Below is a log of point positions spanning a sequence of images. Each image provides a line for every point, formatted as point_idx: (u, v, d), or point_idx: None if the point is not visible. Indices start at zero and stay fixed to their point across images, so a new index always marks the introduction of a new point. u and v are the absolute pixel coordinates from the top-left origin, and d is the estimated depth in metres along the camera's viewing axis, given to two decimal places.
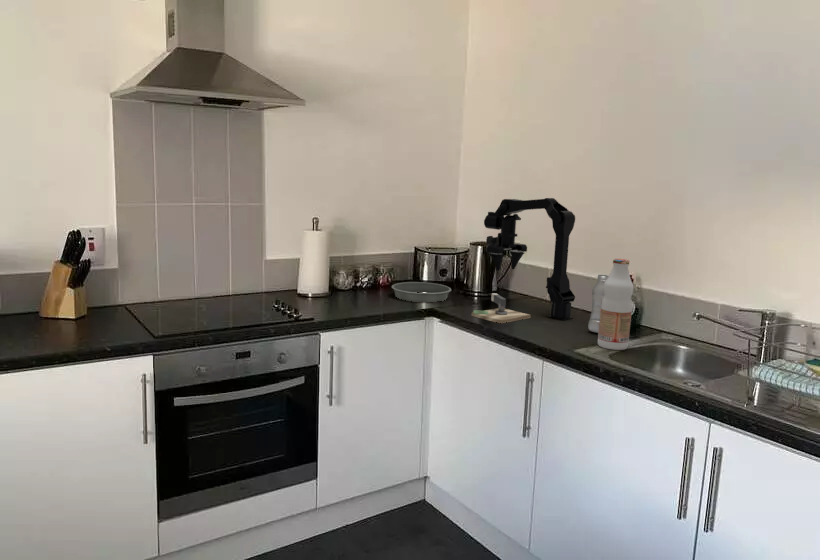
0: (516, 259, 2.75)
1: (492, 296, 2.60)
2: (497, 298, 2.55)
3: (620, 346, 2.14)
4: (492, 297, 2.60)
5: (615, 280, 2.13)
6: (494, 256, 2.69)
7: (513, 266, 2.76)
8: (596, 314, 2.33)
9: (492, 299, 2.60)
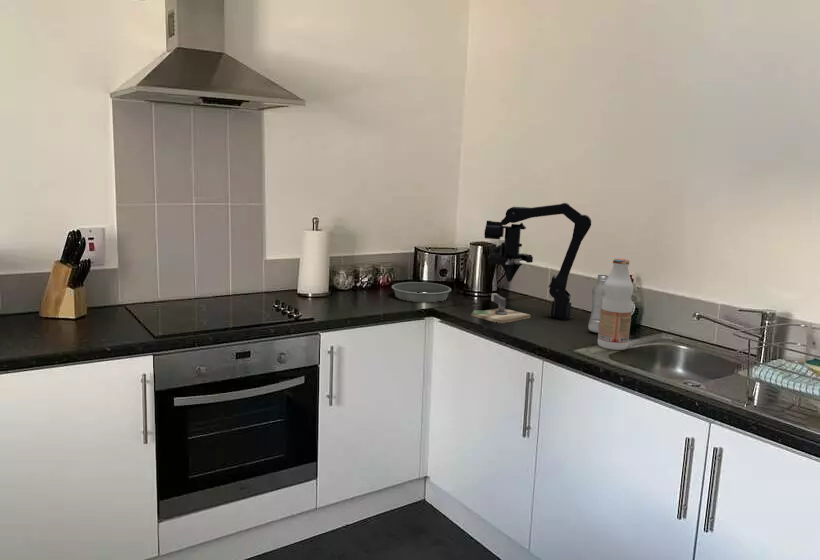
0: (513, 270, 2.58)
1: (492, 296, 2.60)
2: (497, 298, 2.55)
3: (620, 346, 2.14)
4: (492, 297, 2.60)
5: (615, 280, 2.13)
6: (505, 266, 2.58)
7: None
8: (596, 314, 2.33)
9: (492, 299, 2.60)
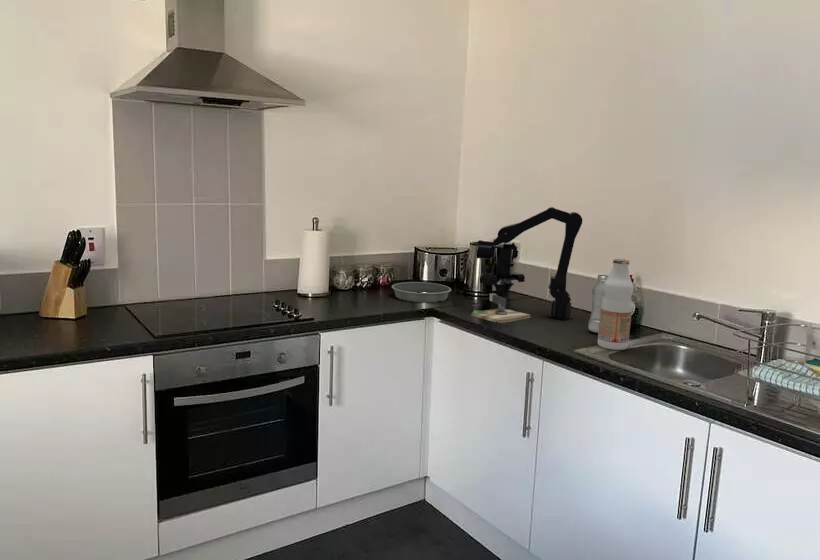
0: (505, 290, 2.59)
1: (491, 296, 2.60)
2: (497, 298, 2.55)
3: (620, 346, 2.14)
4: (491, 297, 2.60)
5: (616, 280, 2.13)
6: (497, 286, 2.59)
7: None
8: (596, 314, 2.33)
9: (491, 299, 2.60)
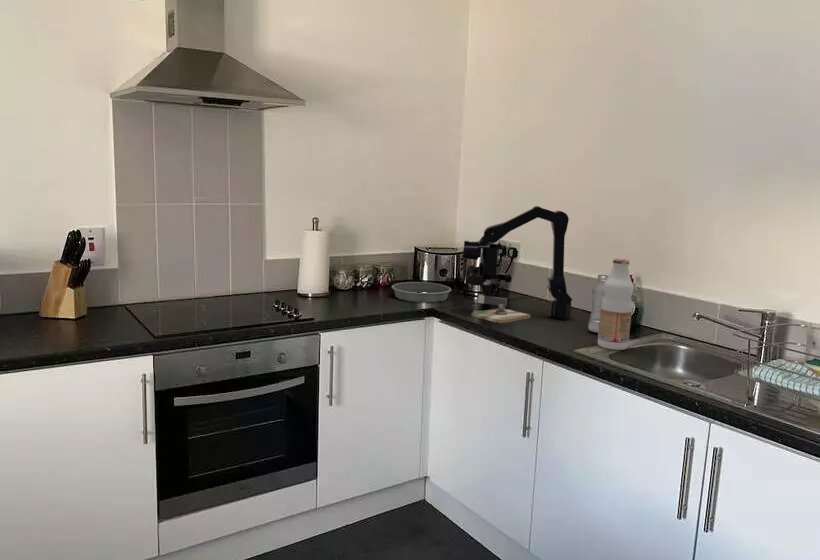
0: (491, 290, 2.57)
1: (481, 298, 2.55)
2: (494, 299, 2.53)
3: (620, 346, 2.14)
4: (481, 299, 2.55)
5: (615, 280, 2.13)
6: (483, 286, 2.57)
7: None
8: (596, 314, 2.33)
9: (481, 301, 2.55)
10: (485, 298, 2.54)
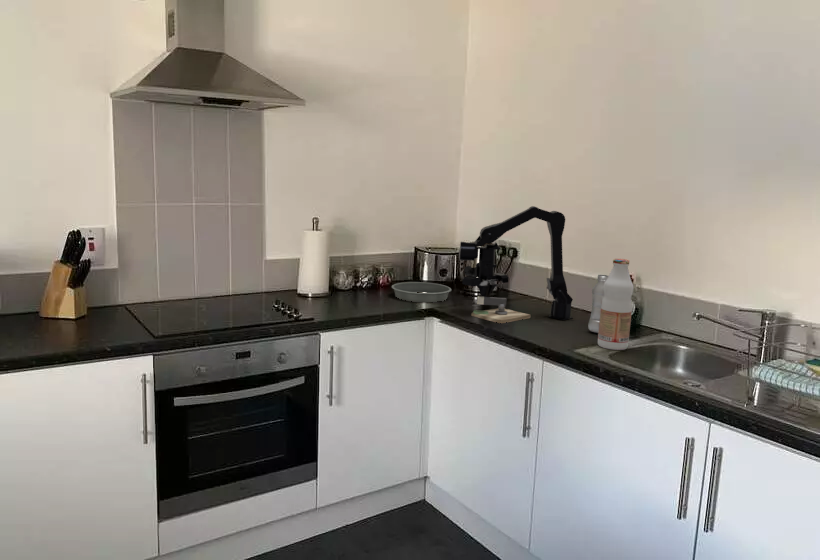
0: (488, 291, 2.55)
1: (480, 299, 2.52)
2: (495, 299, 2.52)
3: (620, 346, 2.14)
4: (480, 300, 2.52)
5: (616, 280, 2.13)
6: (480, 287, 2.55)
7: None
8: (596, 314, 2.33)
9: (480, 302, 2.53)
10: (485, 299, 2.52)
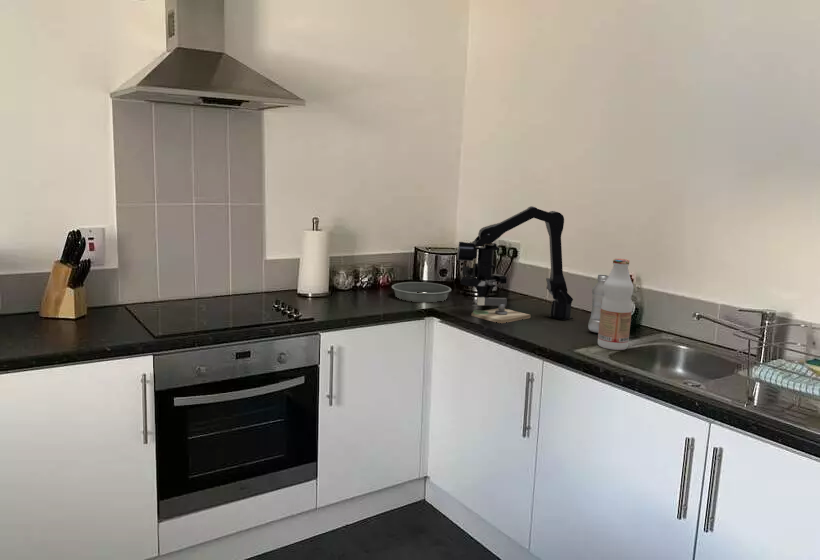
0: (486, 292, 2.54)
1: (481, 300, 2.51)
2: (495, 300, 2.51)
3: (620, 346, 2.14)
4: (481, 301, 2.51)
5: (615, 280, 2.13)
6: (478, 288, 2.54)
7: None
8: (596, 314, 2.33)
9: (481, 303, 2.51)
10: (486, 300, 2.51)
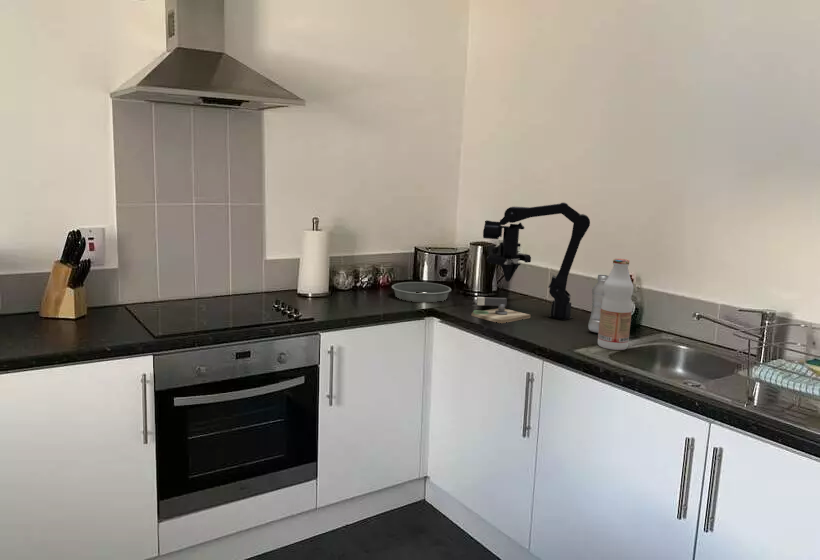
0: (512, 270, 2.58)
1: (481, 300, 2.51)
2: (495, 300, 2.51)
3: (620, 346, 2.14)
4: (481, 301, 2.51)
5: (615, 280, 2.13)
6: (503, 266, 2.58)
7: None
8: (596, 314, 2.33)
9: (481, 303, 2.51)
10: (486, 300, 2.51)
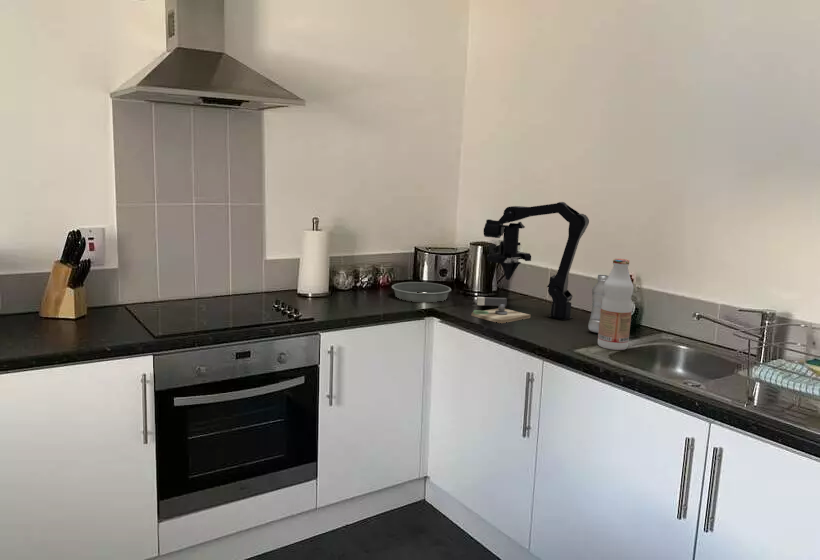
0: (512, 269, 2.62)
1: (481, 300, 2.51)
2: (495, 300, 2.51)
3: (620, 346, 2.14)
4: (481, 301, 2.51)
5: (615, 280, 2.13)
6: (504, 265, 2.63)
7: None
8: (596, 314, 2.33)
9: (481, 303, 2.51)
10: (486, 300, 2.51)
